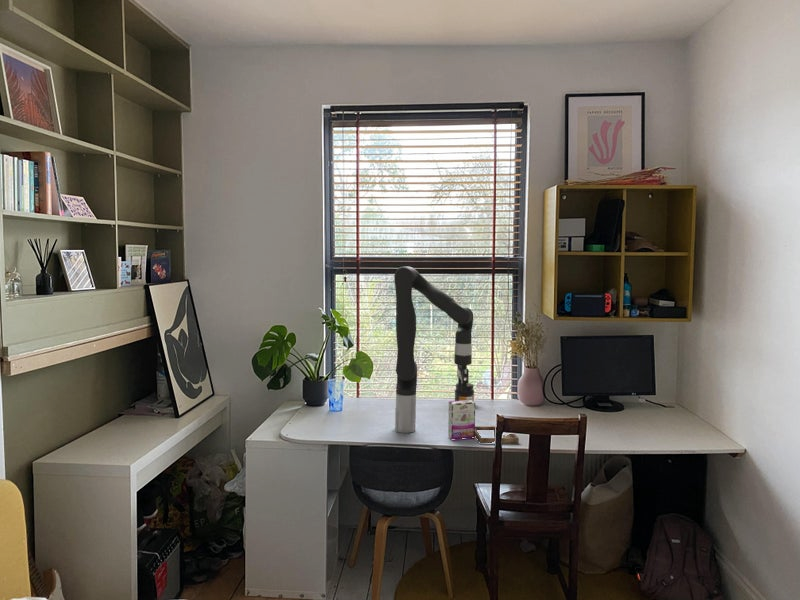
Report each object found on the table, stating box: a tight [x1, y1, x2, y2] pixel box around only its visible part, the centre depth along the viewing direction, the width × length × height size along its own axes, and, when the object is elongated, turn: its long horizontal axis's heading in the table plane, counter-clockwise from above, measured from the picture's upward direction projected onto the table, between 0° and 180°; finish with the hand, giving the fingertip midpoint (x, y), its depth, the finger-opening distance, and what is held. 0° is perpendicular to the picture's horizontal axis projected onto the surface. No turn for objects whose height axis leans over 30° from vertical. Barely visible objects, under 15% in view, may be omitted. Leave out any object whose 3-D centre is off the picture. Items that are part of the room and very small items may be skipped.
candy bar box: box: [447, 400, 476, 440], centre depth 243 cm, size 11×5×16 cm, turn 105°
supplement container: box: [454, 382, 475, 402], centre depth 295 cm, size 10×10×12 cm
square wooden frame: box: [475, 425, 520, 445], centre depth 244 cm, size 17×17×2 cm
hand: (462, 389), depth 242 cm, fingers open, 8 cm apart
